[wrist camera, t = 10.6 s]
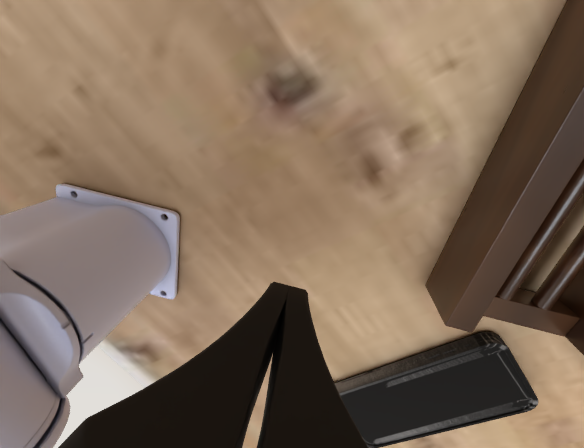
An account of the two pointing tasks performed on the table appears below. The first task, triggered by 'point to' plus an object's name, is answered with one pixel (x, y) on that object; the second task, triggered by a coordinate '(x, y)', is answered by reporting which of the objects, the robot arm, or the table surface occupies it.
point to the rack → (525, 205)
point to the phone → (438, 391)
